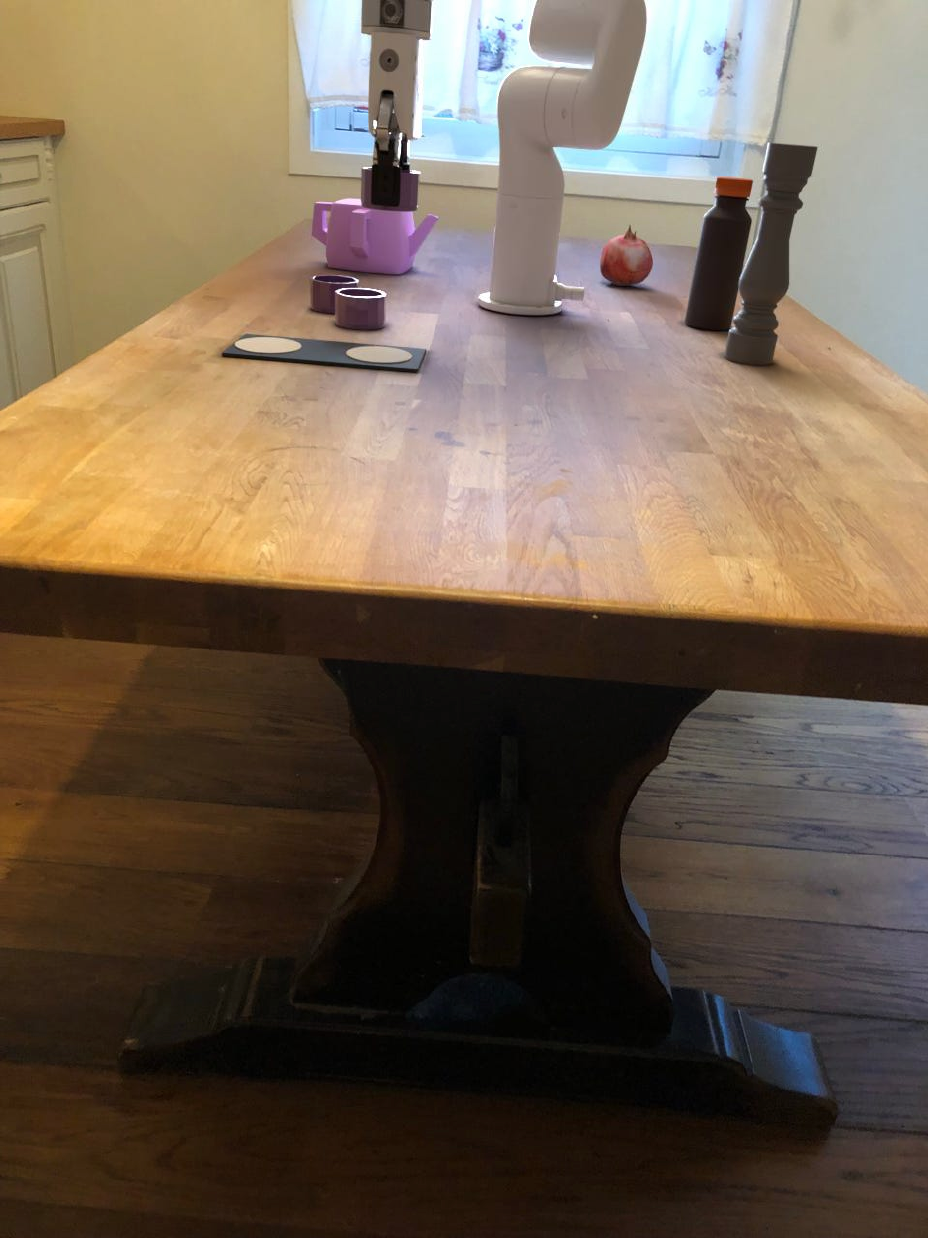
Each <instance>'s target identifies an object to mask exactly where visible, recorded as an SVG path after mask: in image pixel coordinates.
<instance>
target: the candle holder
mask: <svg viewBox="0 0 928 1238" xmlns="http://www.w3.org/2000/svg"><path fill="white" fill-rule="evenodd" d="M818 148H819V146H815V145H807V144H806V145H804V144H795V143H794V144H792V143H781V142H767V146H766V151H765V155H764V161H763V165H762V171H761V172H762V173H763V178H762V180H763V183H764V189H765V194H764V195H763V196H761V197H760V198H759V199H758V203H757V204H758V206H759V207H761V208H760V211H761V216H760V220H759V225H758V231H757V236H756V238H755V241H754V243H753V246H752V248H751V250H750V253H749V255H748V257H747V260H746V262H745V263H744V264H745V265H744V266H743V268H742V273H741V276H740V278H739V283H738V292H739V296H740V298H741V299H742V301H741V305H742V308H741V309H740V310H739V311H738V312H737V314H736V315H735V316H733V318H732V324H733V325H734V326H733V327H730V328H729V329H728V332H727V338H726V343H725V348H724V351H723V352H724V353H723V357H724V358H725V359H726V360H729V361H731V362H735V363H738V364H744V365H752V366H766V365H771V364H772V363H773V361H774V355H775V352H776V348H777V343H778V338H779V335H778V334H777V333H776V332H775V330H777V328H778V327H779V325H780V323H779V321H778V320H777V315H776V313H775V310H776V309H777V308H778V303H780V301H782V300H783V298H784V297H785V296H786V294H787V292H788V290H789V287H790V239H791V234H792V229H793V225H794V221H795V215H796V214H798V211H800V210H802V208H803V206H804V202H803V201H802V199H801V198H800V193H802V192H803V189H804V188H805V187H806V186H807V185H808V181H809V178H811V177H812V176H813V170H814V167H815V162H816V161H815V160H816V156H817V153H818Z"/></svg>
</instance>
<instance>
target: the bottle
mask: <svg viewBox="0 0 928 1238" xmlns="http://www.w3.org/2000/svg"><path fill="white" fill-rule="evenodd" d="M753 183H754V180H753V179H752V178H751V179H750V178H744V177H735V176H717V177H716V182H715V186H714V187H715V188H714V196H713V198H715V201H714V205H713V206H712V207H711V208H710V209H709V210H707V212H705V213H704V215H703V217H702V223H701V228H700V232H699V233H700V234H699V240H698V243H697V244H698V245H697V250H696V257H695V262H694V267H693V273H692V277H691V278H692V279H691V285H690V289H689V294H688V295H689V296H688V301H687V306H686V307H687V308H686V312H685V319H684V323H685V324H686V325H687V326H689V327H692V328H695V329H700V330H704V331H705V330H706V331H726V330H730V329H731V328H732V324H733V318H734V313H735V309H736V308H735V307H736V303H737V297H738V292H739V288H738V283H739V278H740V276H741V274H742V271H743V269H744V264H745V258H746V253H747V248H748V243H749V237H750V233H751V227H752V224H753V219H752V216H751V214H750V213H749V211H748V210H747V208H746V206H747V202H749V200H750V197H751V193H752V188H753Z"/></svg>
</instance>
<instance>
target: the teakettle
mask: <svg viewBox="0 0 928 1238" xmlns="http://www.w3.org/2000/svg"><path fill="white" fill-rule="evenodd" d="M313 203H314V204H313V212H312V214H313V215H312V226H311V237H313V238H314V239H316V240H317V241H318V242H319V243H321V244H323V245H324V246H325V258H326V262H327V265H328V268H330V269H335V270H342V271H343V270H344V271H352V272H361V273H371V274H384V275H402V274H404V273H406V272H408V271H409V270H410V269H412V268H413V266H414V262H415V260H416V254H417V253H418V251H419V250H420V248H421V247H422V245H423V244H424V242H425V240H426V239H427V238H428V236H429V234H430V233H431V232H432V230H433V228H434V227H435V225H436V223H437V222H438V220H439V216H438V215H434V214H431V213H428V214H427V215H426V217H425V218H424V219H423V221H421V223H420V224H419V225H418V226H417V227H416V226H415V220H414V213H413V211H412V212H400V211H385V210H376V209H369V208H364V207H362V206H361V198H343V199H339V200H336V201H334V202H327V201H326V202H325V201H317V202H313ZM327 212H330V213H329V218H328V222H327ZM327 223H328V224H327ZM415 227H416V228H415Z"/></svg>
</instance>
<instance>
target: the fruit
mask: <svg viewBox="0 0 928 1238" xmlns="http://www.w3.org/2000/svg"><path fill="white" fill-rule="evenodd" d="M653 265H654V259H653V255H652V252H651V249H650V247H649V245H648V243H647V242H646V241H645V240H644V239H642V238H641V237H638V236H637V230H635V231H634V232H633V231H632V226H631V224H629V225H628V229H627V230H626V232H625V234H621V235H617V236H615V237H613V238H612V239H610V240H609V241H607V242H606V243H605V244H604V246H603V248H602V250H601V252H600V258H599V270H600V274H601V276H602V278H604V279H605V280H607V281H609V282H611V283H613V284H614V285H615V286H618V287H626V286H632V285H638V284H641V283H642V282H644V281H645V280H646V279H647V278H648V277H649V275H650V273H651V272H652V269H653Z"/></svg>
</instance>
